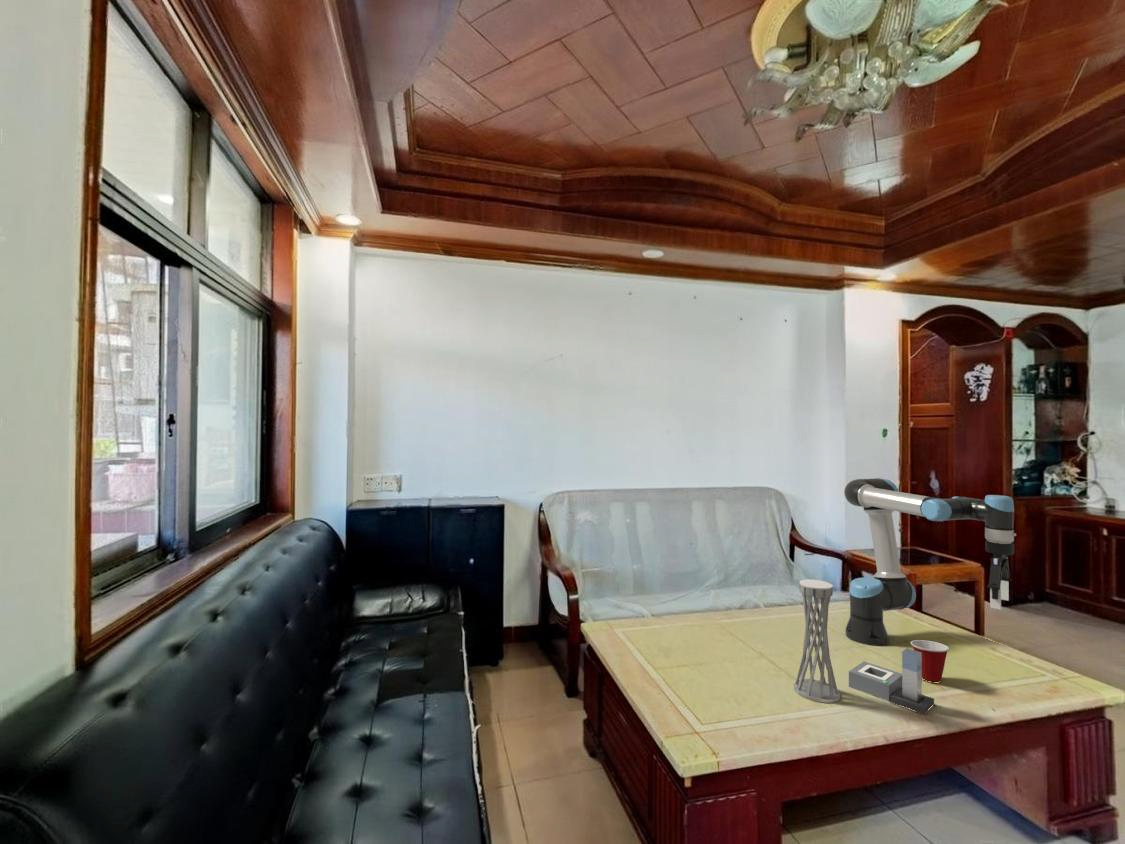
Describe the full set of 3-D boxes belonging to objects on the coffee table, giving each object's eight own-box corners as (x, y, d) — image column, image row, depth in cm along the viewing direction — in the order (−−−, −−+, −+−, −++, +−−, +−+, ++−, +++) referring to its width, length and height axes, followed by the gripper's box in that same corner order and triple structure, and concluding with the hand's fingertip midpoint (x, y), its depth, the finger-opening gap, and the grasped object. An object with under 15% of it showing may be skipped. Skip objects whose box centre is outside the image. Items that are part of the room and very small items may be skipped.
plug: (902, 700, 161) (902, 651, 161) (907, 695, 164) (906, 648, 164) (917, 705, 158) (916, 656, 158) (921, 701, 161) (921, 652, 161)
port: (848, 686, 172) (848, 670, 172) (863, 675, 179) (863, 660, 179) (889, 701, 162) (889, 684, 162) (903, 689, 170) (903, 673, 170)
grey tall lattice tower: (838, 707, 159) (837, 592, 159) (790, 695, 166) (790, 585, 166) (841, 688, 170) (840, 581, 171) (797, 678, 177) (796, 575, 178)
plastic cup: (928, 670, 183) (928, 636, 183) (957, 685, 173) (957, 649, 173) (902, 673, 181) (902, 639, 181) (931, 688, 170) (930, 652, 170)
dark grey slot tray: (890, 702, 162) (890, 696, 162) (901, 693, 167) (901, 687, 167) (924, 715, 155) (924, 708, 155) (934, 705, 160) (934, 698, 160)
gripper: (1006, 548, 165) (1007, 615, 165) (1020, 538, 181) (1020, 598, 181) (977, 544, 171) (977, 609, 171) (992, 534, 187) (993, 593, 187)
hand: (999, 603), depth 176 cm, fingers open, 13 cm apart
